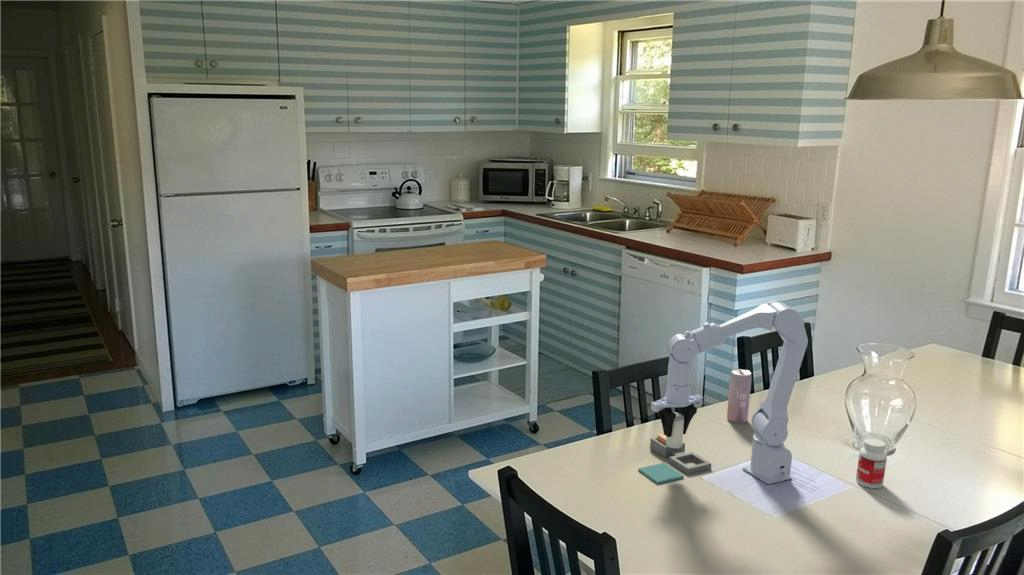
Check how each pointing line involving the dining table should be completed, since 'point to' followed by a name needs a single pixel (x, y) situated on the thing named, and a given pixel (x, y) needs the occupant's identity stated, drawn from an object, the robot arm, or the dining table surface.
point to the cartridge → (676, 432)
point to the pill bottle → (871, 464)
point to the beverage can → (739, 396)
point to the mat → (660, 473)
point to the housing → (680, 457)
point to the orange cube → (662, 438)
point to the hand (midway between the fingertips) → (674, 434)
